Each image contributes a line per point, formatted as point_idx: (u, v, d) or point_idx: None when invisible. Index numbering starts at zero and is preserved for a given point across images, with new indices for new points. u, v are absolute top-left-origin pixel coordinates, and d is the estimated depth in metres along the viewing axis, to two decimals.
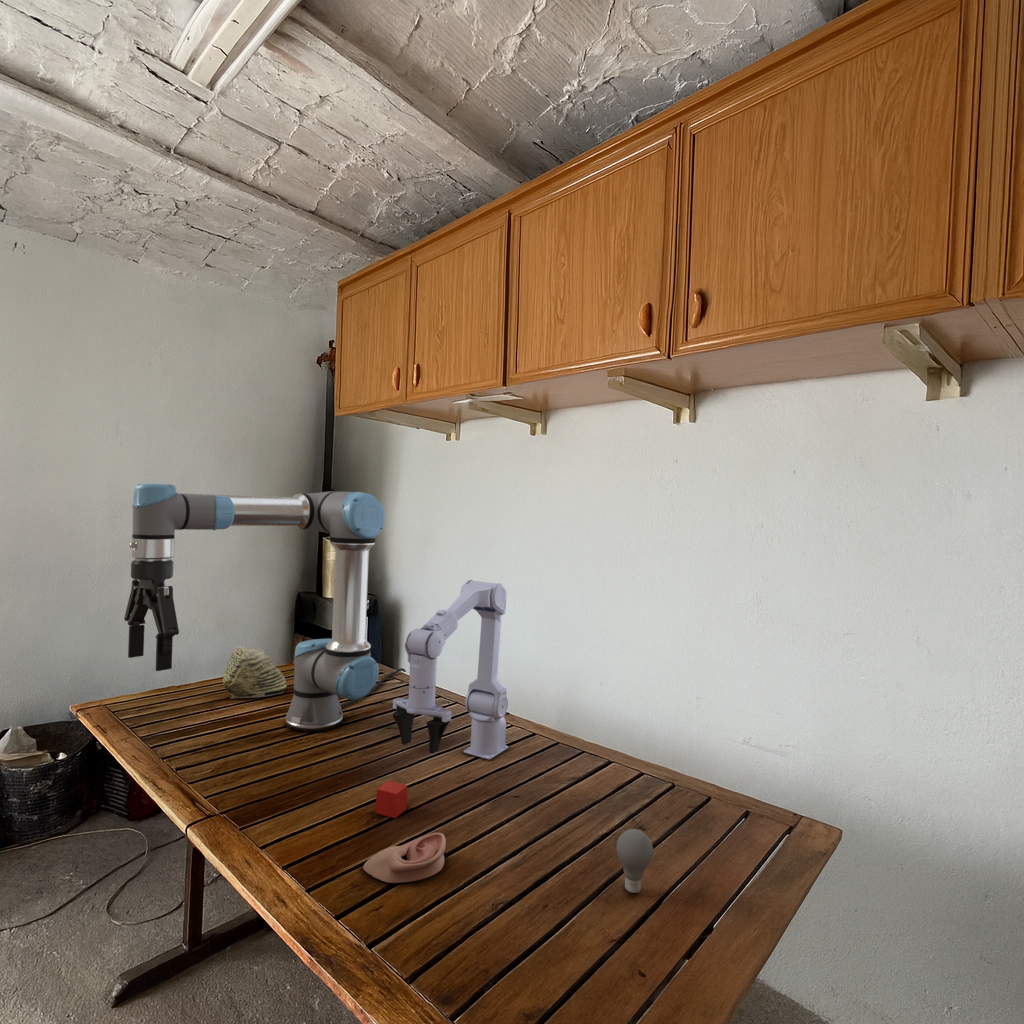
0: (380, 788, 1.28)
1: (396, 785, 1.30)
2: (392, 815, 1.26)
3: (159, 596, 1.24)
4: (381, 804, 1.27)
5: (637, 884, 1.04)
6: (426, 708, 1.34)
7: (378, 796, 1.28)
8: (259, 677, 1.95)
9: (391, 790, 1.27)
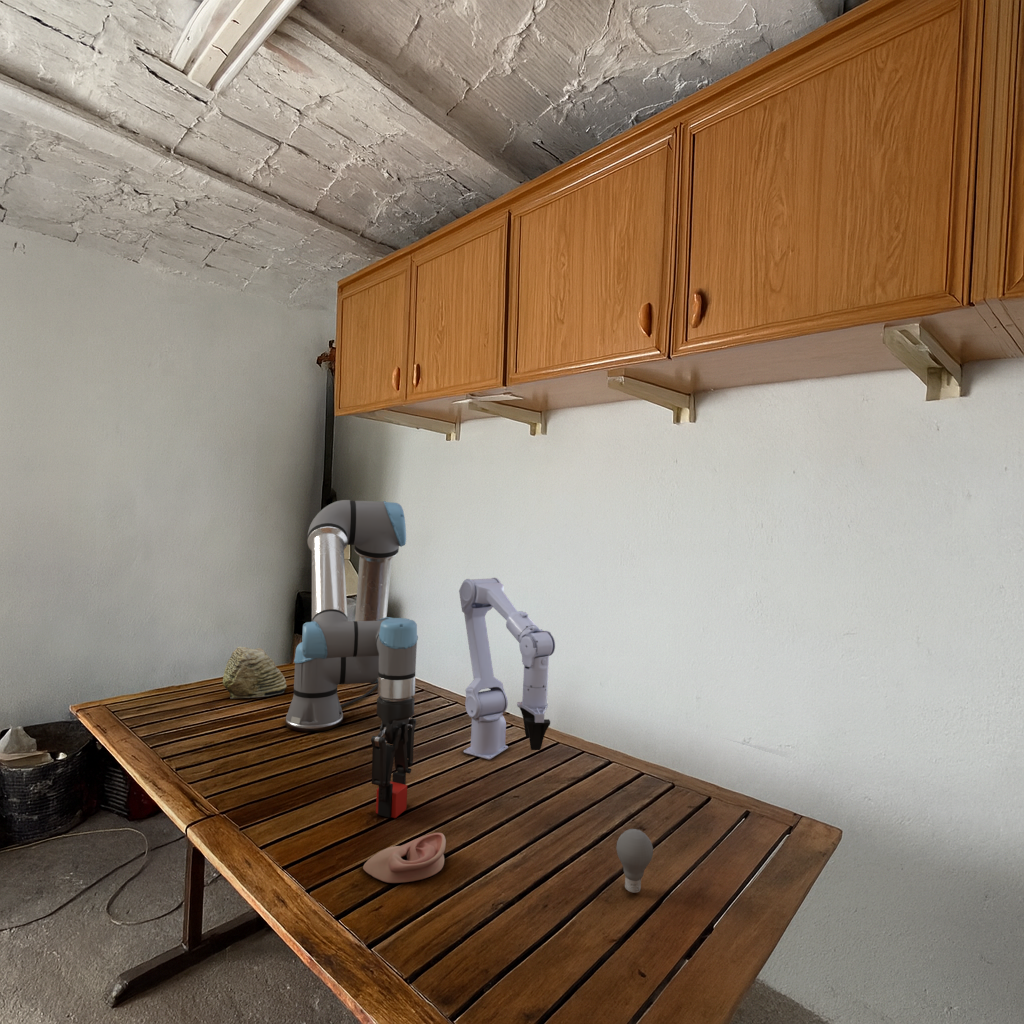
0: None
1: (396, 785, 1.30)
2: (392, 815, 1.26)
3: None
4: None
5: (637, 884, 1.04)
6: (530, 706, 1.43)
7: None
8: (259, 677, 1.95)
9: None
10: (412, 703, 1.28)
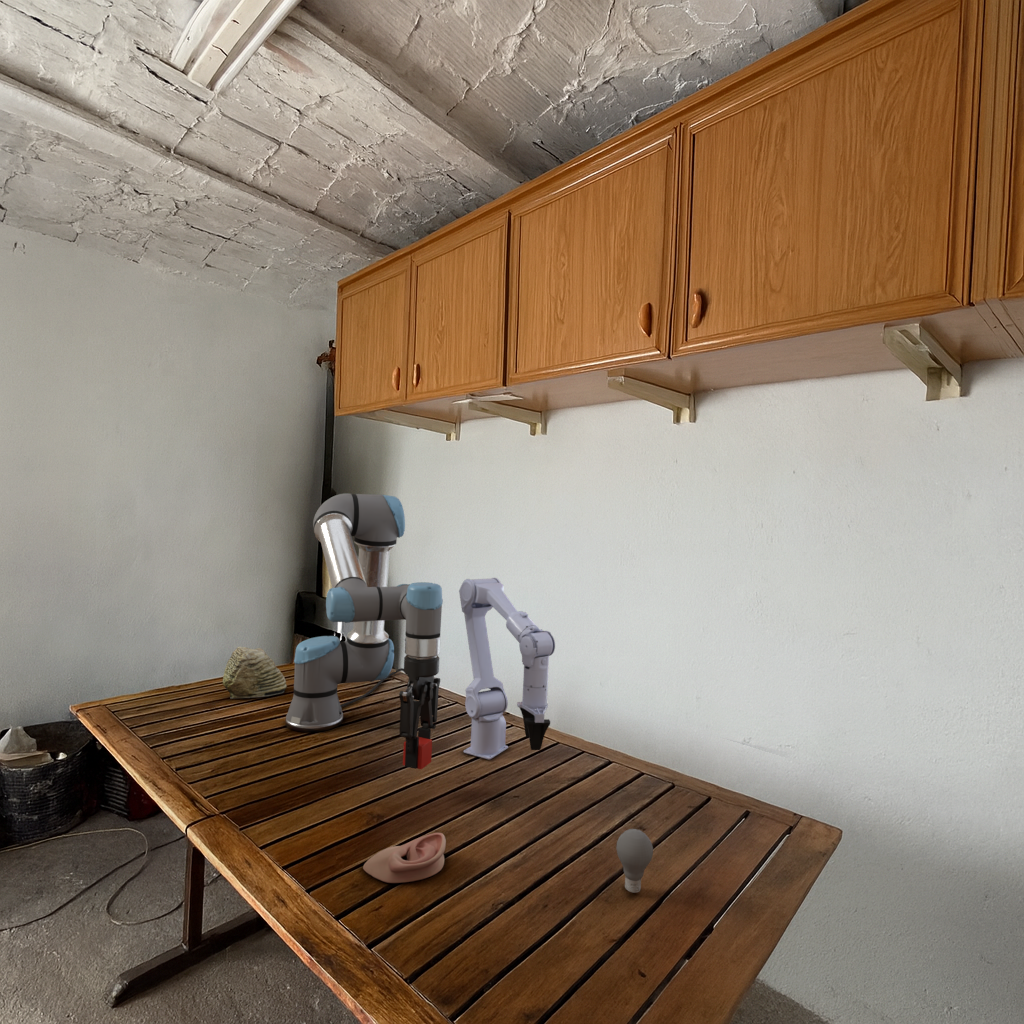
0: None
1: (421, 739, 1.38)
2: (418, 767, 1.34)
3: None
4: None
5: (637, 884, 1.04)
6: (530, 706, 1.43)
7: None
8: (259, 677, 1.95)
9: None
10: (437, 662, 1.35)
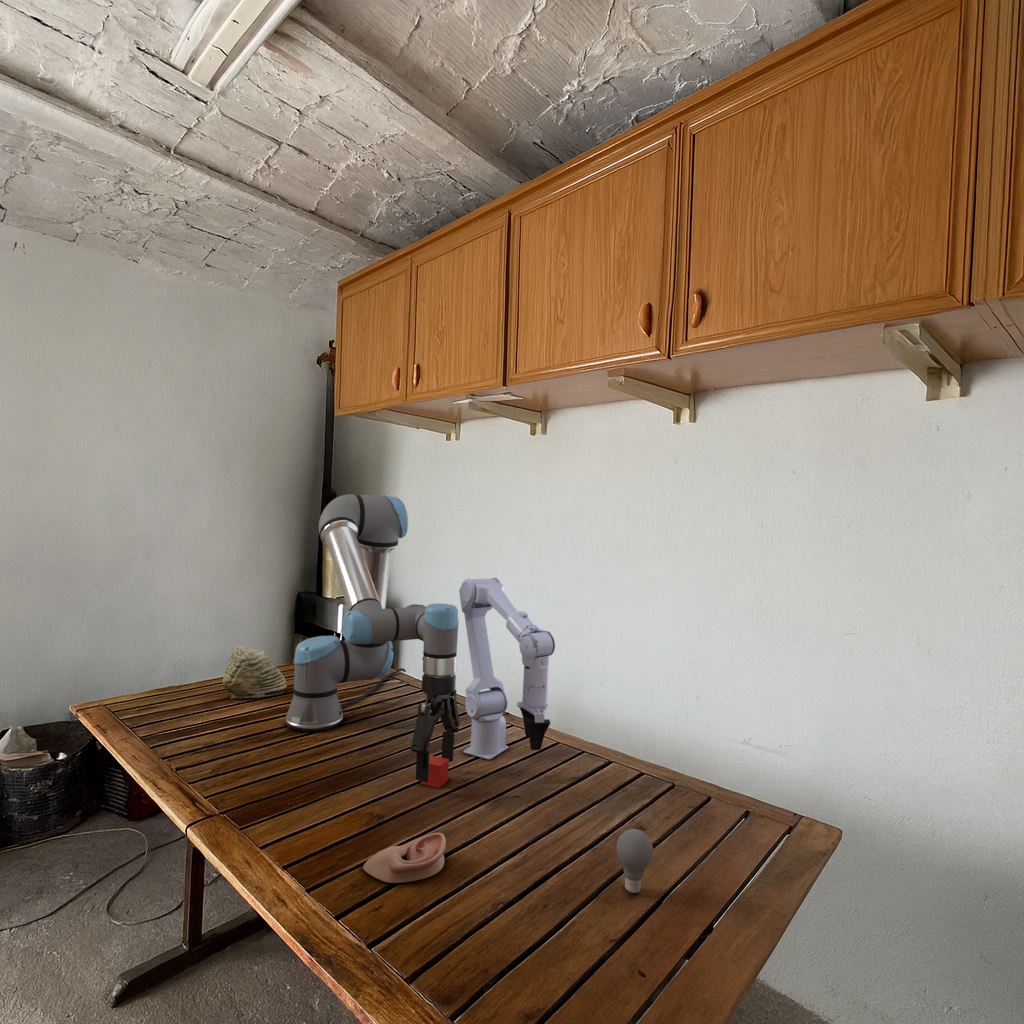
0: None
1: (438, 758, 1.44)
2: (436, 785, 1.40)
3: None
4: None
5: (637, 884, 1.04)
6: (530, 706, 1.43)
7: None
8: (259, 677, 1.95)
9: (435, 763, 1.41)
10: (454, 680, 1.41)
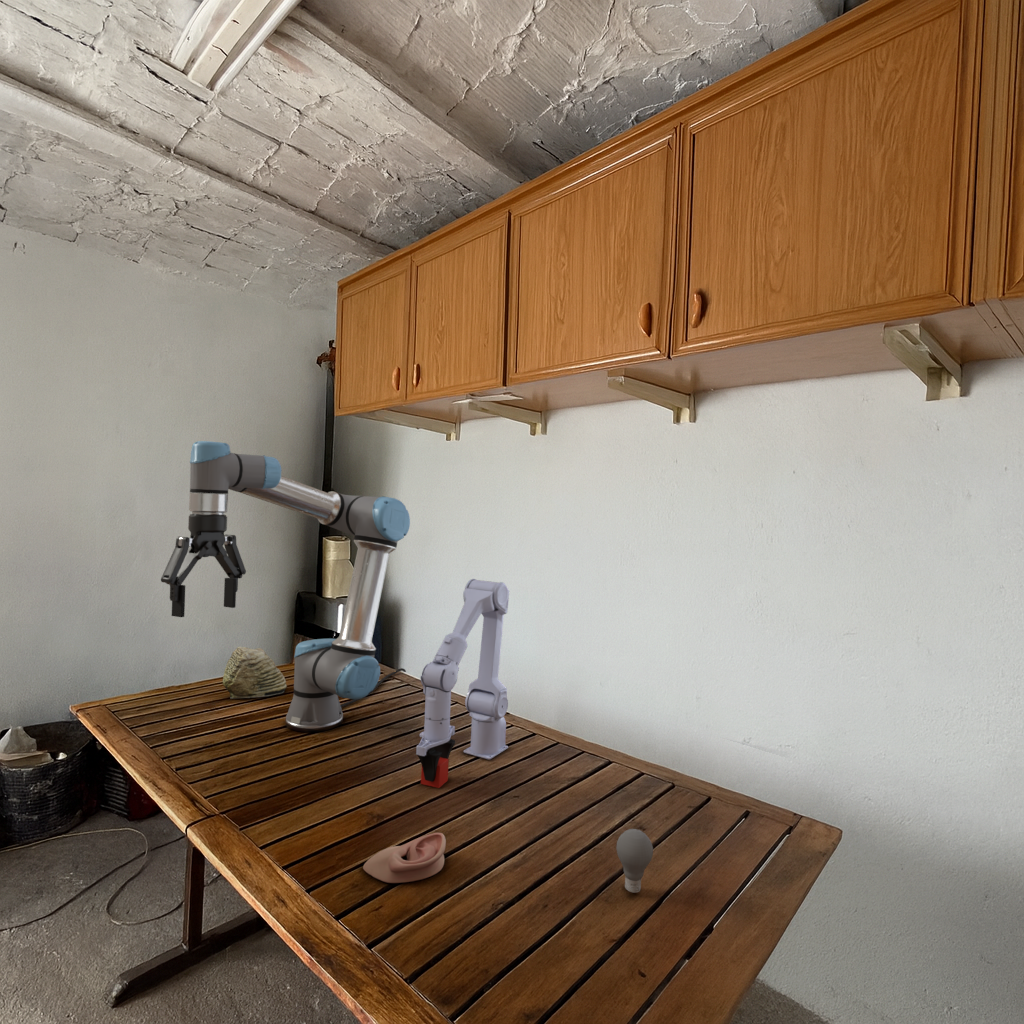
0: None
1: None
2: (436, 785, 1.40)
3: None
4: None
5: (637, 884, 1.04)
6: (425, 737, 1.41)
7: None
8: (259, 677, 1.95)
9: None
10: (222, 519, 1.35)
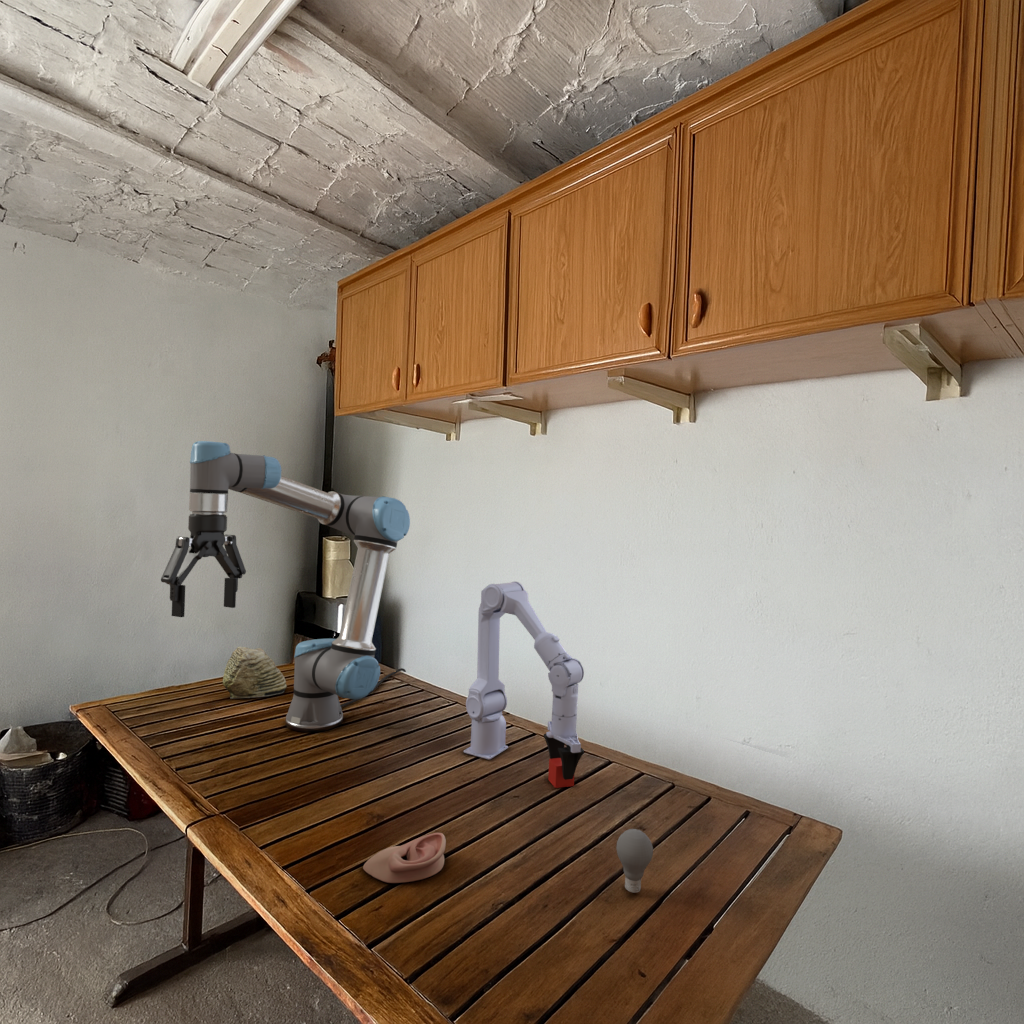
0: (557, 765, 1.43)
1: None
2: (571, 784, 1.44)
3: None
4: (561, 778, 1.43)
5: (637, 884, 1.04)
6: (562, 735, 1.42)
7: (558, 772, 1.43)
8: (259, 677, 1.95)
9: None
10: (222, 519, 1.35)
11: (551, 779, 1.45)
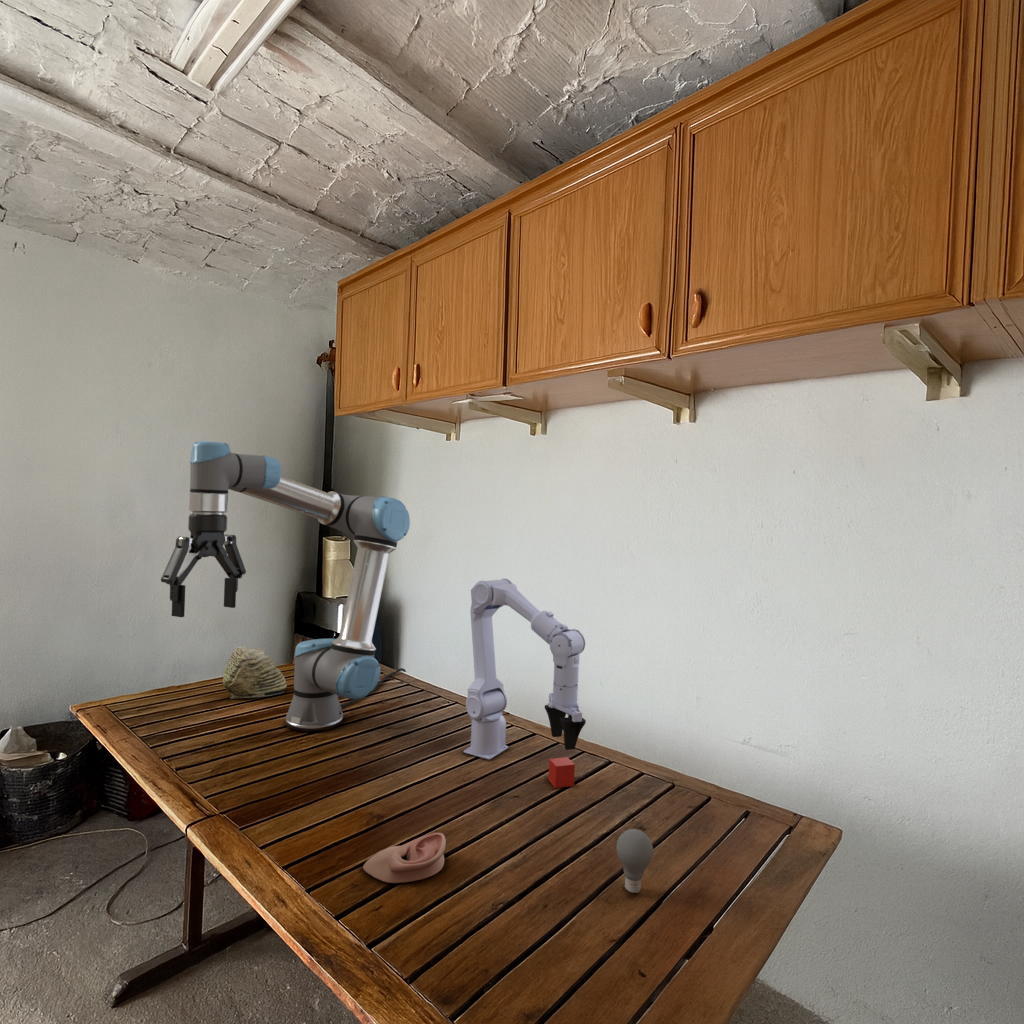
0: (557, 765, 1.43)
1: (561, 759, 1.46)
2: (571, 784, 1.44)
3: None
4: (561, 778, 1.43)
5: (637, 884, 1.04)
6: (563, 705, 1.42)
7: (558, 772, 1.43)
8: (259, 677, 1.95)
9: (567, 763, 1.44)
10: (222, 519, 1.35)
11: (551, 779, 1.45)
